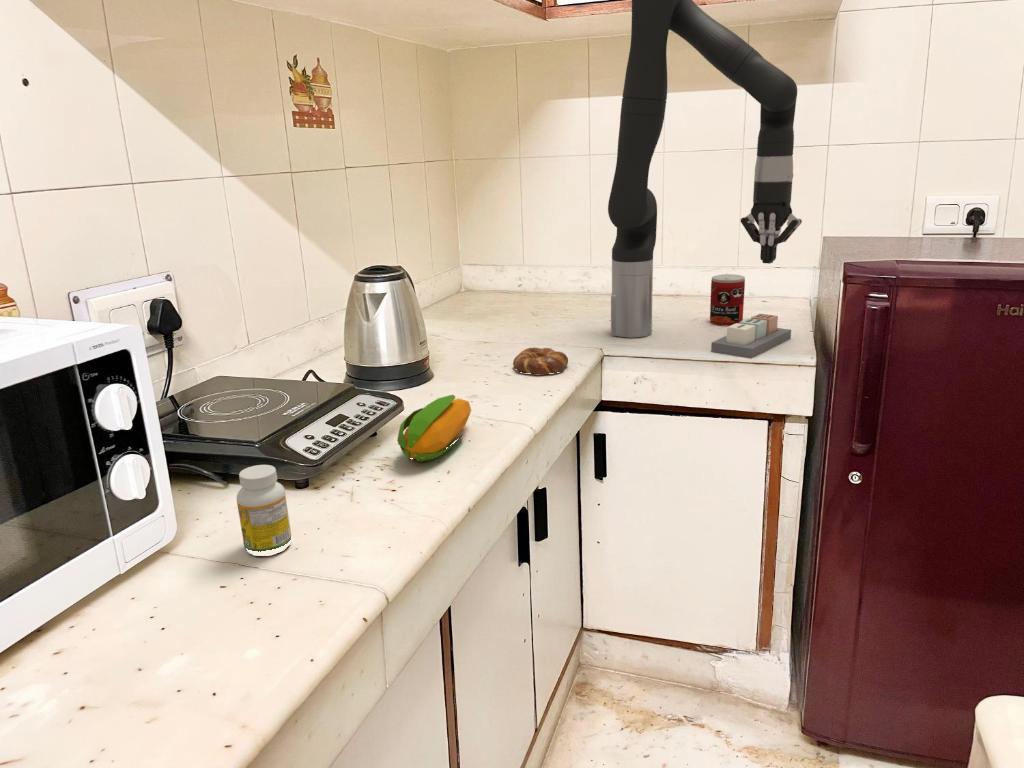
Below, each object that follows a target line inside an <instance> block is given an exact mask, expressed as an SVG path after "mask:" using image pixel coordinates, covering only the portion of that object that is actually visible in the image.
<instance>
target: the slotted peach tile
mask: <svg viewBox="0 0 1024 768" xmlns="http://www.w3.org/2000/svg"><path fill="white" fill-rule="evenodd" d="M750 319H758V320H766V321H767V327H766V334H771V333H774V332H776V331H777V328H778V320H779V316H778V315H775V314H774V315H773V314H768V313H767V314H765V313H757V314H755V315H753V316H751V317H750Z"/></svg>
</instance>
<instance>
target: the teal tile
mask: <svg viewBox="0 0 1024 768" xmlns="http://www.w3.org/2000/svg"><path fill="white" fill-rule="evenodd" d="M739 324H746V325H753V326H755V340H759V339H761V338H763V337H765V336H766V327H767V321H766V320H758V319H751V317H750V318H749V317H748V318H746V319H745V318H744V319H743V320H742V321H741V322H739Z"/></svg>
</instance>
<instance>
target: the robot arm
mask: <svg viewBox="0 0 1024 768" xmlns="http://www.w3.org/2000/svg"><path fill="white" fill-rule="evenodd" d="M630 27H631V29H630V30H631V32H630V33H631V36H630V46H629V52H628V53H629V54H628V58H627V65H626V69H625V75H624V76H625V78H624V84H623V89H622V98H621V106H620V107H621V108H620V118H619V130H618V139H617V152H616V153H617V154H616V155H617V156H616V162H615V170H614V175H613V179H612V184H611V189H610V195H609V198H608V204H607V213H608V217H609V219H610V222H611V223H612V224H613V226H614V227H616V237H615V242H614V243H613V246H612V249H611V295H610V336H612V337H613V336H614V337H621V338H630V339H631V338H643V337H647V336H650V335H652V333H653V292H654V290H653V285H654V284H653V282H654V281H653V280H654V278H653V277H654V251H655V247H656V241H657V229H658V227H657V226H658V225H657V223H658V203H657V199H656V197H655V195H654V193H653V192H652V190H650V188H648V185H649V184H648V183H649V172H650V166H651V162H652V159H653V156H654V153H655V151H656V147H657V145H658V143H659V140H660V137H661V132H662V130H663V125H664V120H665V114H666V109H667V107H666V106H667V98H668V63H667V47H668V46H667V44H668V37H669V31H671V32H673V33H675V34H676V35H677V36H679V37H680V38H681V39H683V40H685V41H686V43H688V44H689V45H691V47H693V48H694V49H695V50H696V51H697V52H698V53H699V54H700V55H701V56H702V57H703V58H704V59H705V60H706V61H707V62H708V63H710V64H711V65H712V66H713V67H714V68H715V69H716V70H717V71H719V72H720V73H721V74H722V75H724V76H725V77H726V78H727V79H728V80H729V81H731V82H733V84H735V85H737V86H738V87H741V88H742V89H743V90H744V91H746V93H748V94H749V95H750V97H752V98H753V99H754V100H755V101H756V102H758V103H759V104H760V118H759V120H760V121H759V125H760V126H759V132H758V136H757V143H756V145H757V147H756V148H757V149H756V162H755V165H754V175H753V177H754V179H753V196H752V201H753V202H752V203H753V204H752V207H751V210H750V213H748V214H747V215H746V216H744V217H741V218H740V223H741V224H742V226H743V228H744V230H745V231H746V233H747V234H748V236H749V237H750V238H751V240H752V242H754V243H757V244H759V245H760V256H759V258H760V260H761V262H762V264H773V263H774V261H776V259H777V250H778V249H777V248H778V245H779V244H782V243H786V242H787V241H788V239H789V238H790V237H791V236H792V235H793V234H794V232H795V231H796V230H797V229H798V228H799V226H800V225H801V224H802V219H801V218H797V217H796V216H795V215H794V214H793V209H792V207H791V202H792V192H793V191H792V190H793V178H794V156H793V155H794V144H795V143H794V142H795V140H794V139H795V131H794V125H795V124H794V122H795V114H796V105H797V97H798V86H797V83H796V82H795V80H794V79H793V78H792V77H791V76H789V75H788V74H787V73H786V72H784V71H783V70H781V69H780V68H779V67H777V66H775V65H774V64H772V62H770V61H768V60H767V59H765V58H764V57H763V56H762V54H760V53H759V51H758V50H756V49H755V48H754V47H753V46H751V44H749V43H748V42H747V41H745V40H744V39H743V38H741V37H740V36H739V35H738V34H736V33H735V32H734V31H731V30H730V29H729V28H727V27H726V26H725V25H723V24H721V23H720V22H718V21H717V20H716V19H714V18H713V17H711V16H710V15H708V13H706V12H705V11H704V10H702V8H701V7H699V6H698V4H696V3H695V2H694V0H631V26H630ZM755 223H756V224H755ZM785 223H786V227H785V229H784V230H782V227H783V226H784V225H785ZM757 226H758V228H757Z"/></svg>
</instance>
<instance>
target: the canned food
mask: <svg viewBox="0 0 1024 768" xmlns="http://www.w3.org/2000/svg"><path fill="white" fill-rule="evenodd" d="M745 278H746V277H745V276H743V275H740V274H731V273H730V274H726V273H725V274H716V275H713V276H711V280H710V281H711V282H710V300H709V301H710V305H709V306H710V307H709V322H710V323H711V324H712V323H713V325H715V324H716V325H715V326H721V325H734V324H736V323H739V322H741V321H743V320H744V319H743V318H744V307H745V306H744V304H745V287H746V279H745Z"/></svg>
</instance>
